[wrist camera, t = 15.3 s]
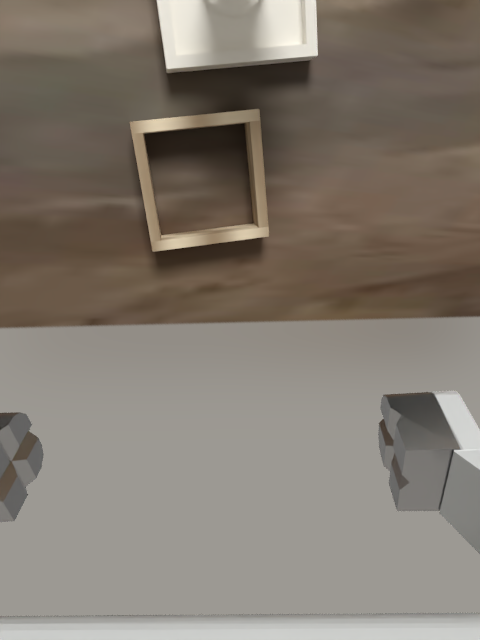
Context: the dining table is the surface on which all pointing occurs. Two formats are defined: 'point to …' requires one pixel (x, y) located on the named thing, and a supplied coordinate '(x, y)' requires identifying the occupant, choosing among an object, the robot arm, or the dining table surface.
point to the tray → (236, 34)
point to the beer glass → (233, 6)
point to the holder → (255, 176)
